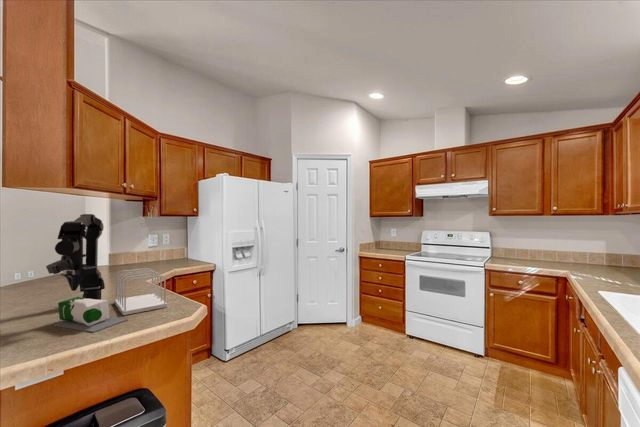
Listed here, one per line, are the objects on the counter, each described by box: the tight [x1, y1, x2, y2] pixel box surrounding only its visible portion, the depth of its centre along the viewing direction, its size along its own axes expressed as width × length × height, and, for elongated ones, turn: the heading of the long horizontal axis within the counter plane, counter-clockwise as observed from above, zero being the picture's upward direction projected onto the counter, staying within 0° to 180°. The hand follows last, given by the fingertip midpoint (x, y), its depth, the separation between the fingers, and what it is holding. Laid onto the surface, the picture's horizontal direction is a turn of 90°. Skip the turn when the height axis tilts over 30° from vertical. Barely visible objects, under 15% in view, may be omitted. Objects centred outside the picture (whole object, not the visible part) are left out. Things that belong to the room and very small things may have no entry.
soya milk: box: [57, 296, 110, 326], centre depth 115 cm, size 9×9×20 cm
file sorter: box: [113, 267, 168, 316], centre depth 137 cm, size 25×17×16 cm
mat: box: [53, 315, 129, 334], centre depth 114 cm, size 13×22×1 cm, turn 72°
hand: (73, 290), depth 118 cm, fingers closed
